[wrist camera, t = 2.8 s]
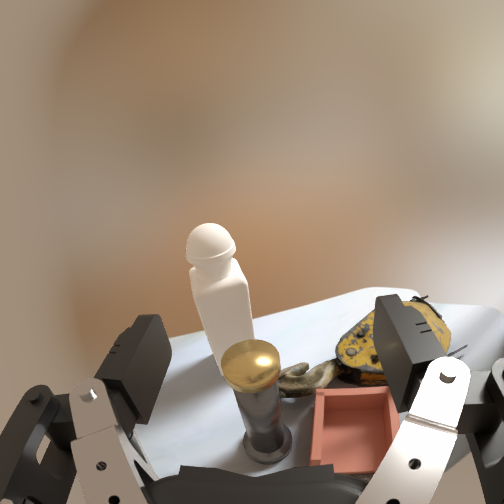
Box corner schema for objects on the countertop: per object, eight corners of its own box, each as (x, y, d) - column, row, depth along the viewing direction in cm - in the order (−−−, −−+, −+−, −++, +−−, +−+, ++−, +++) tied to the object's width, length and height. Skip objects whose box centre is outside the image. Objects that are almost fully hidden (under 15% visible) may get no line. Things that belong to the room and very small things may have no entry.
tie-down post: (294, 426, 33) (287, 336, 26) (289, 465, 28) (280, 388, 21) (249, 423, 34) (225, 335, 27) (240, 461, 30) (207, 383, 22)
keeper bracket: (395, 396, 34) (414, 338, 29) (403, 469, 24) (434, 423, 19) (314, 400, 36) (314, 342, 31) (307, 474, 27) (308, 433, 22)
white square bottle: (262, 368, 43) (239, 228, 33) (219, 380, 42) (178, 243, 32) (251, 340, 48) (227, 210, 38) (212, 351, 47) (176, 222, 37)
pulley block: (254, 332, 41) (429, 278, 45) (257, 356, 44) (420, 302, 48) (285, 424, 30) (479, 337, 34) (285, 439, 33) (465, 360, 37)
